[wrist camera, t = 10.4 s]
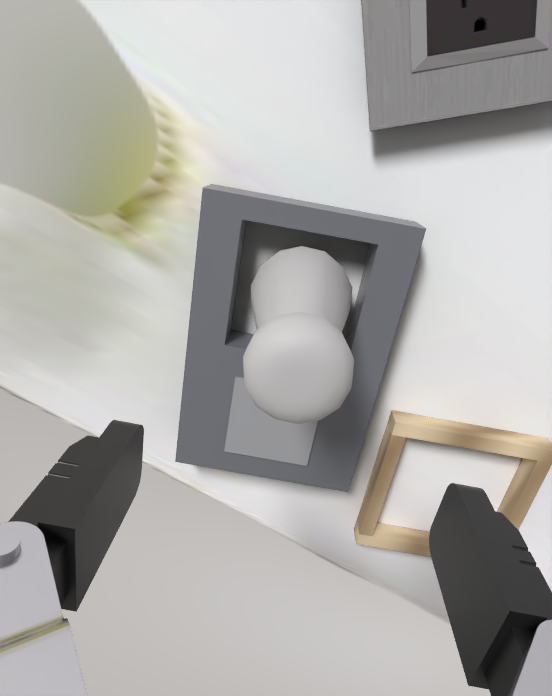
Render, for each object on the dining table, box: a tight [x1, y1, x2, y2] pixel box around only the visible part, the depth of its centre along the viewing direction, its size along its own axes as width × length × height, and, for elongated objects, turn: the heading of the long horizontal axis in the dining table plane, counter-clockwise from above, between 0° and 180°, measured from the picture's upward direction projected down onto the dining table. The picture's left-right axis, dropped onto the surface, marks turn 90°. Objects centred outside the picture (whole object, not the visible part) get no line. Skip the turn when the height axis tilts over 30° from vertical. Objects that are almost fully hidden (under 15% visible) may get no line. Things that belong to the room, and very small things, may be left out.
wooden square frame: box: [354, 410, 552, 557], centre depth 33 cm, size 11×11×2 cm
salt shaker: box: [243, 246, 354, 424], centre depth 23 cm, size 6×6×13 cm
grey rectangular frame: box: [175, 184, 426, 492], centre depth 29 cm, size 12×18×3 cm, turn 170°
